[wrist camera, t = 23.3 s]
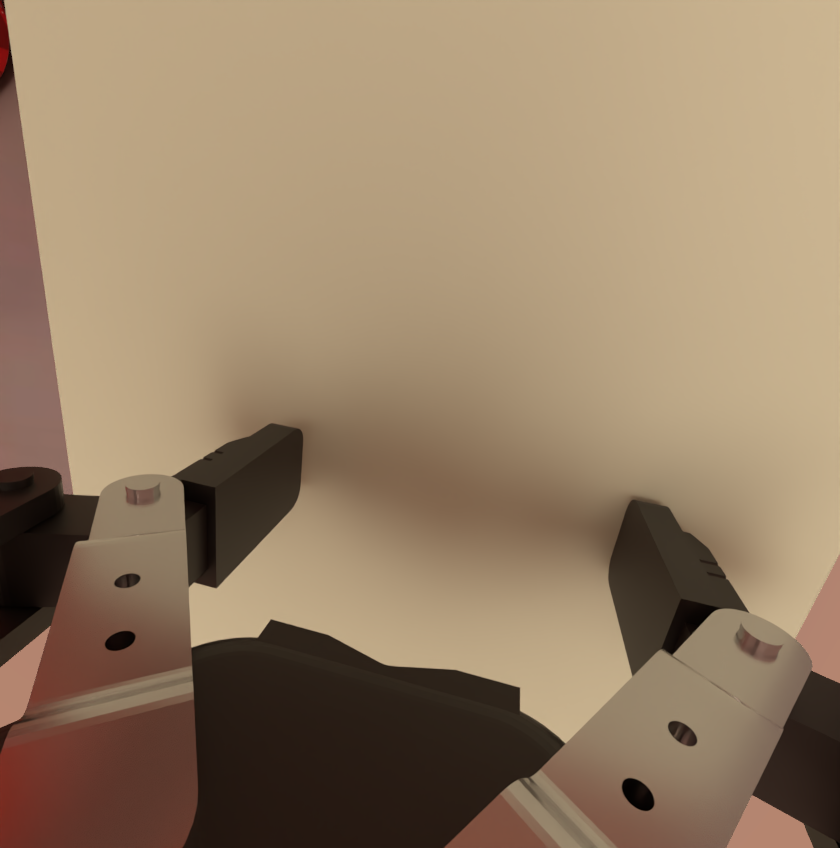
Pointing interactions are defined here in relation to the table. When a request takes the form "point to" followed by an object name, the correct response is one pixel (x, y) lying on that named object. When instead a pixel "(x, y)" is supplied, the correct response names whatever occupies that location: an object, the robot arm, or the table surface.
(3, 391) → the table surface
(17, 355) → the table surface
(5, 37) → the soda can
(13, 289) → the table surface
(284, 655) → the robot arm
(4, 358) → the table surface
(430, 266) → the bread box lid
